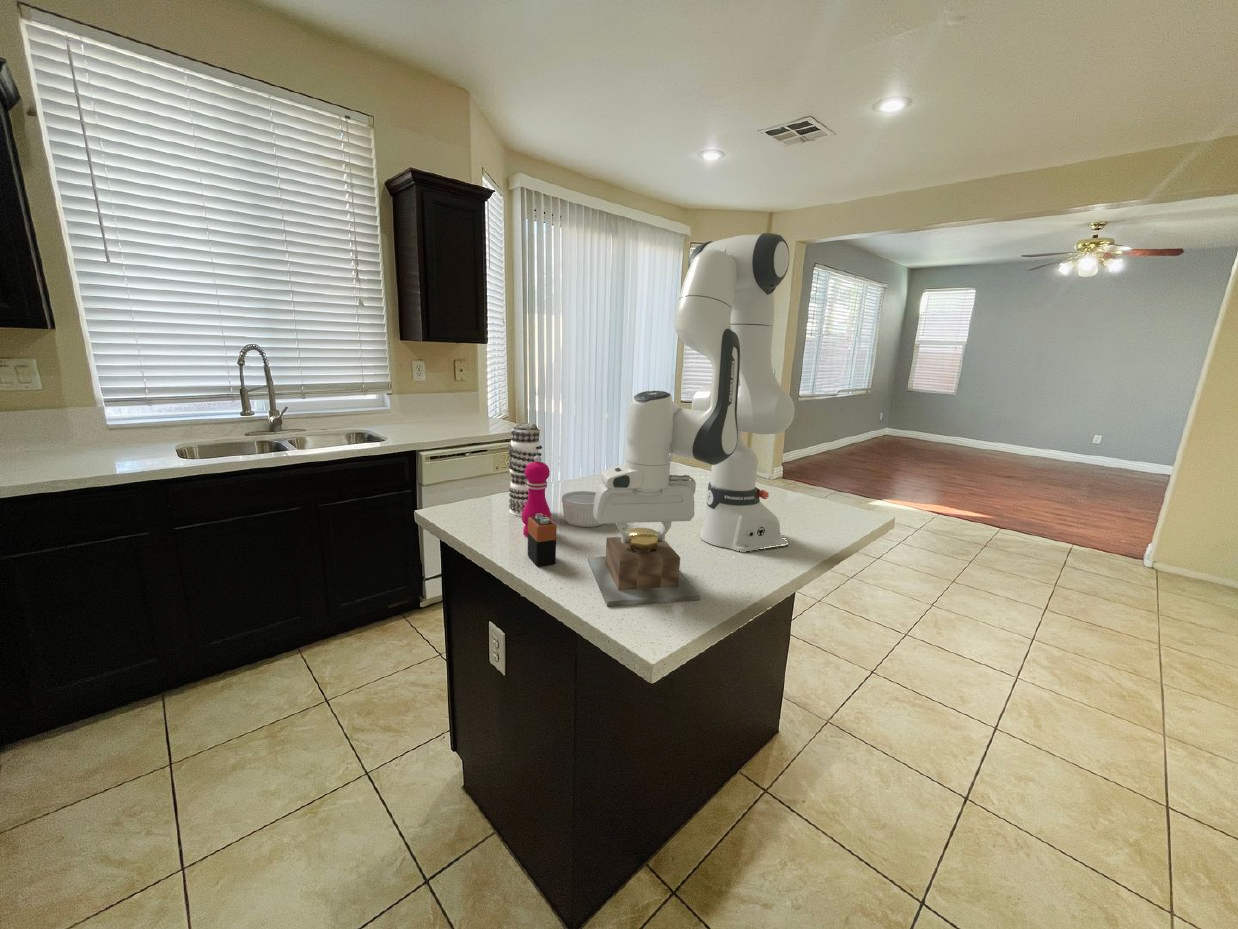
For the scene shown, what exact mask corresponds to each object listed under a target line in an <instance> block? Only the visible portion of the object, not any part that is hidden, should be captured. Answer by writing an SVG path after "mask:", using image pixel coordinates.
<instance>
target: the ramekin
mask: <svg viewBox="0 0 1238 929" xmlns="http://www.w3.org/2000/svg"><path fill="white" fill-rule="evenodd" d="M595 495H596V491H595V490H574V491H573V490H572V491H568V492H566V493H563V494H562V496H561V503H562V513H563V518H564V520H565V522H566V523H567V524H569V525H571V526H574V527H578V528H579V527H581V528H592V527H593V528H594V527H598V526H601V525H603V524H600V523H598V522H597V521H596V519H595V518H594V515H593V508H594V500H595Z"/></svg>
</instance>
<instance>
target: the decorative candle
mask: <svg viewBox="0 0 1238 929" xmlns="http://www.w3.org/2000/svg"><path fill="white" fill-rule="evenodd" d="M510 431H511V436H510V437H511V438H510V439H511V440H510V445H508V448H507V449H508V455H509V457H508V463H509V465H508V467H509V473H510V477H511V478H510V487H509V488H508V490H509V492H510V493H509V497H510V498H509V499H508V502H509V505H508V508H509V514H510V515H512V516H515V515H517V516H516V517H522V512H523V509H524V507H525V505H526V503H527V500H528V493H529V492H528V488H527V481H528V479H527V478H526V477H525V468H526V466H527V465H528V464H529V463H531V462H535V461H534V457H535V456H537V455H538V456H540V457H542V452H540V450H541V449H542V448H543V446H542V445H541V441H540V432H541V429H539V428H538V426H537V425H536V424H534V423H529V422H528V423H527V422H523V423H521V422H519V423H516V424H515V425H513V427H512V428H510Z"/></svg>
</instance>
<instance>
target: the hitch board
mask: <svg viewBox="0 0 1238 929" xmlns="http://www.w3.org/2000/svg"><path fill="white" fill-rule="evenodd" d="M633 550H634V548H631V547H630V546H628V544H622V542H621V536H613V537H611V536H610V537H609V536H607V537H606V543H605V555H604V556H589V557H587V562H588V564H589V567H590V569H591V572H592V574H593V577H594V579H595V581H596V584H597V586H598V588H599V591H600V593H601V595H602V597H603V601H604V602H605V605H606V607H617V606H618V607H619V606H633V605H647V604H649V605H650V604H661V603H664V604H665V603H676V602H687V601H701V594H700V593H699V592H698V590H697V589H696V588H695V587H694V586H693V585H692V583H691V582H690V581H689V579H688V578H687V577H686V576H685V574H683V572H682V571H681V570H680V568H681V556H680V555H678V553H677V552H676V550H674V549H673V547H672V546H671V545H670V544H669V543H668V542H667V541H666V540H665V541H664V542H658V545H657V548H655V549H652V550H651V552H633Z"/></svg>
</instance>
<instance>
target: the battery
mask: <svg viewBox="0 0 1238 929" xmlns="http://www.w3.org/2000/svg"><path fill="white" fill-rule="evenodd" d="M557 526H558V525H557V524H556V522H554V521H553V520H552V519H551V520H550V518H548V517H547V516H546V515H544V516H543V514H536V516H535V517H529V518H528V537H527V556H528V557H529V559H530V560H531V561H532V563H533V564H535V565H536V567H544V566H550V565H551V566H552V565H555V564H556V561H557V560H556V559H557V557H556V555H557Z"/></svg>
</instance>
